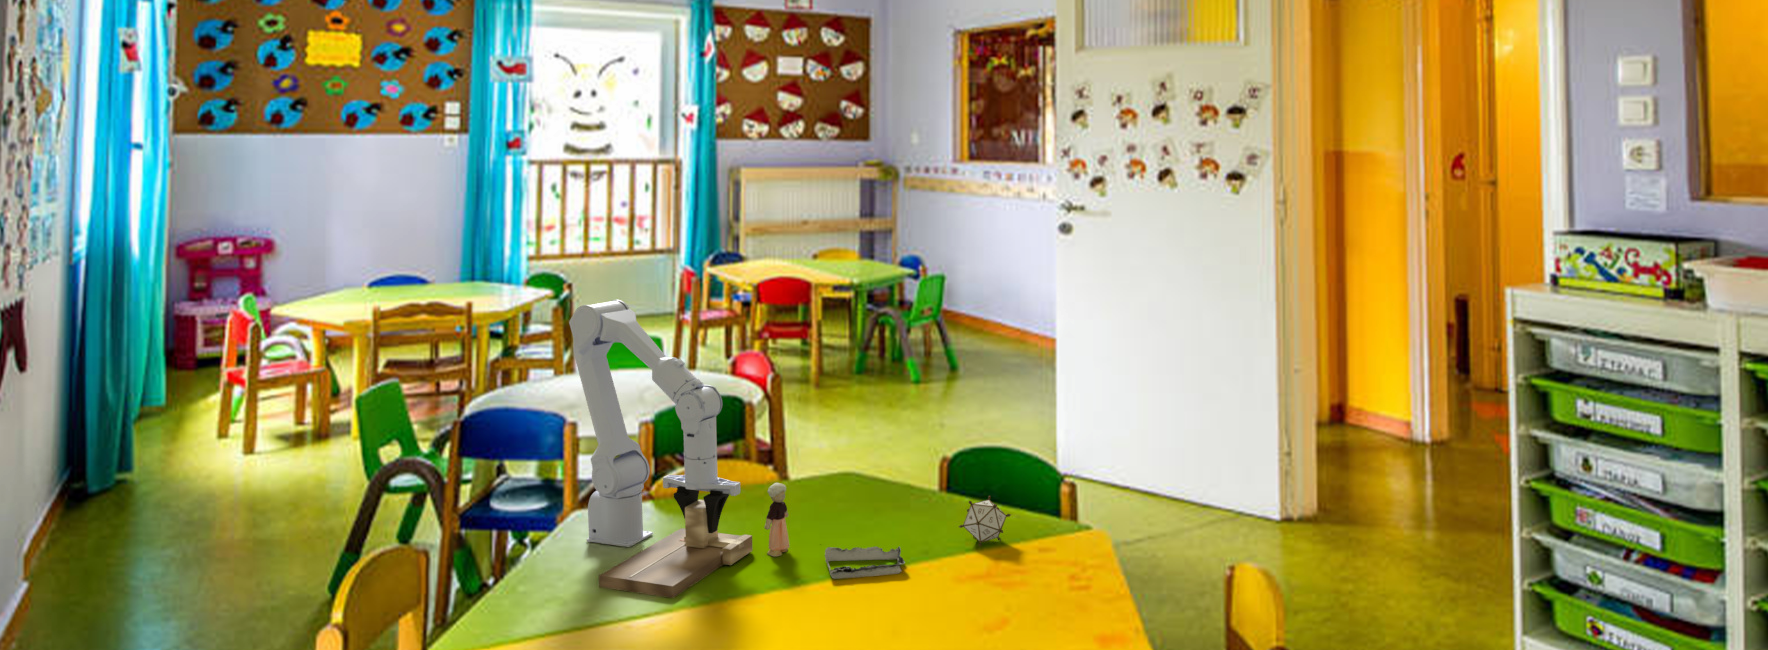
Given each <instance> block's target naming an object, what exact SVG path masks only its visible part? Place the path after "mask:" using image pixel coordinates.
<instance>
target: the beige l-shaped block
mask: <svg viewBox="0 0 1768 650" xmlns="http://www.w3.org/2000/svg"><path fill="white" fill-rule="evenodd" d="M684 525H685V526H684V527H685V528H684V529H685V532H686V536H685V537H684V542H685V543H686V546H691V547H698V548H705V547H707V546H715V547H722V559H723V564H724V565H725V566H726V565H728V566H732V565H733V564H735V563H736V562H738V561H739V560H741V559H742V558H744V557H745V556H746V555H749V553H751V552H753V535H750V534H742V535H740V536H741V537H739V538H738V539H728V538H720V537H718V533H719V529H717V531H715V532H714V533H709V532H708V521H707V510H706V506H705V502H704V499H698V501H696V502H694V503H692V504H690V505H688V506H686V507H685V518H684Z"/></svg>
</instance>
